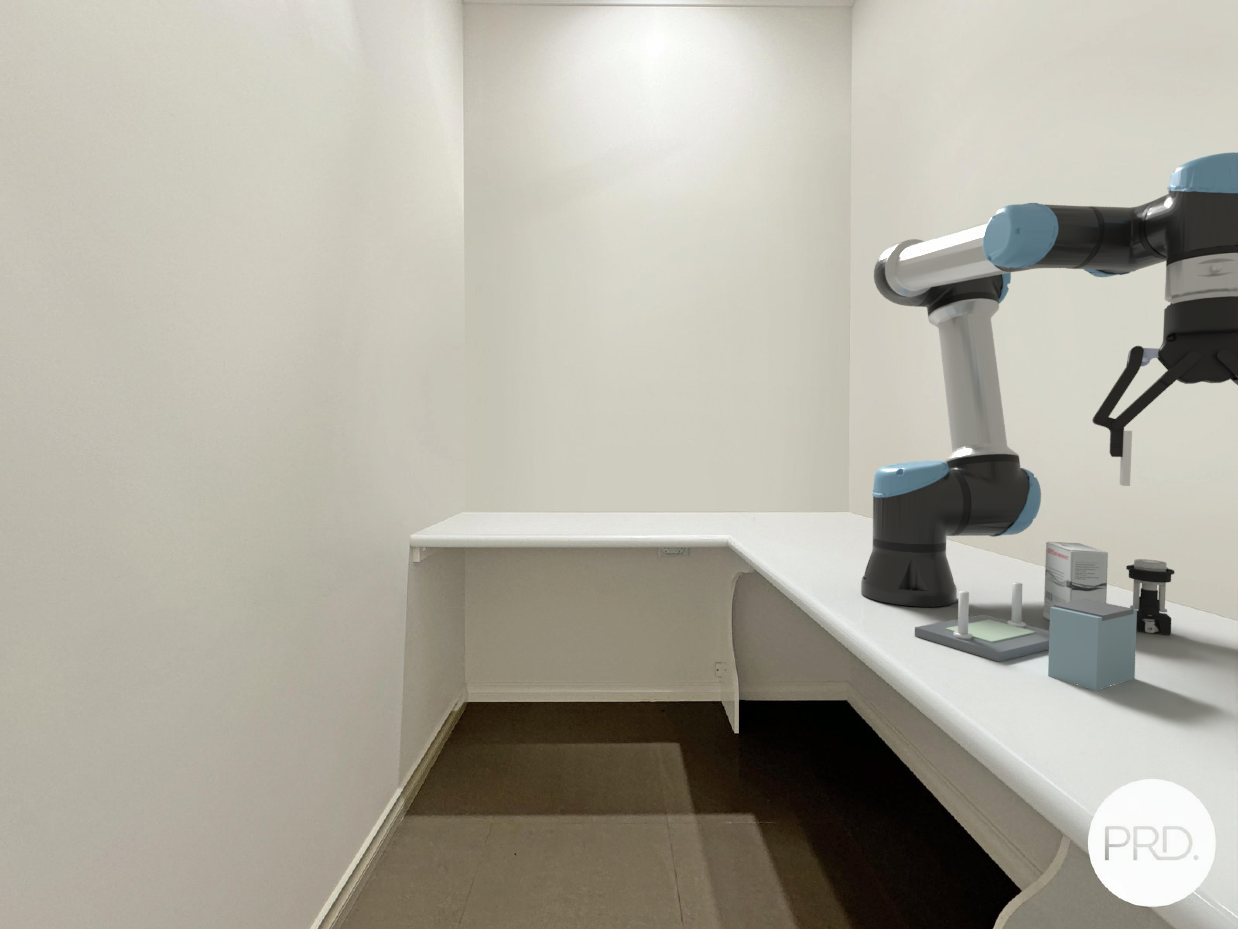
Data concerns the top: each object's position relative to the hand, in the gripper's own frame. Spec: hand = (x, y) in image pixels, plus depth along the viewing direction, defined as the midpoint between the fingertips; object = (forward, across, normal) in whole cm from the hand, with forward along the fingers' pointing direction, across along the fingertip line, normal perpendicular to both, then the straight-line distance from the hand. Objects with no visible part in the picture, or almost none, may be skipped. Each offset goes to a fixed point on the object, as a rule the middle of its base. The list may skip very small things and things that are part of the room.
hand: (1199, 488), depth 75 cm
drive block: (+22, -10, -7) cm, 25 cm away
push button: (+22, -2, +20) cm, 30 cm away
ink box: (+22, -11, +18) cm, 30 cm away
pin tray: (+22, -20, +2) cm, 30 cm away
